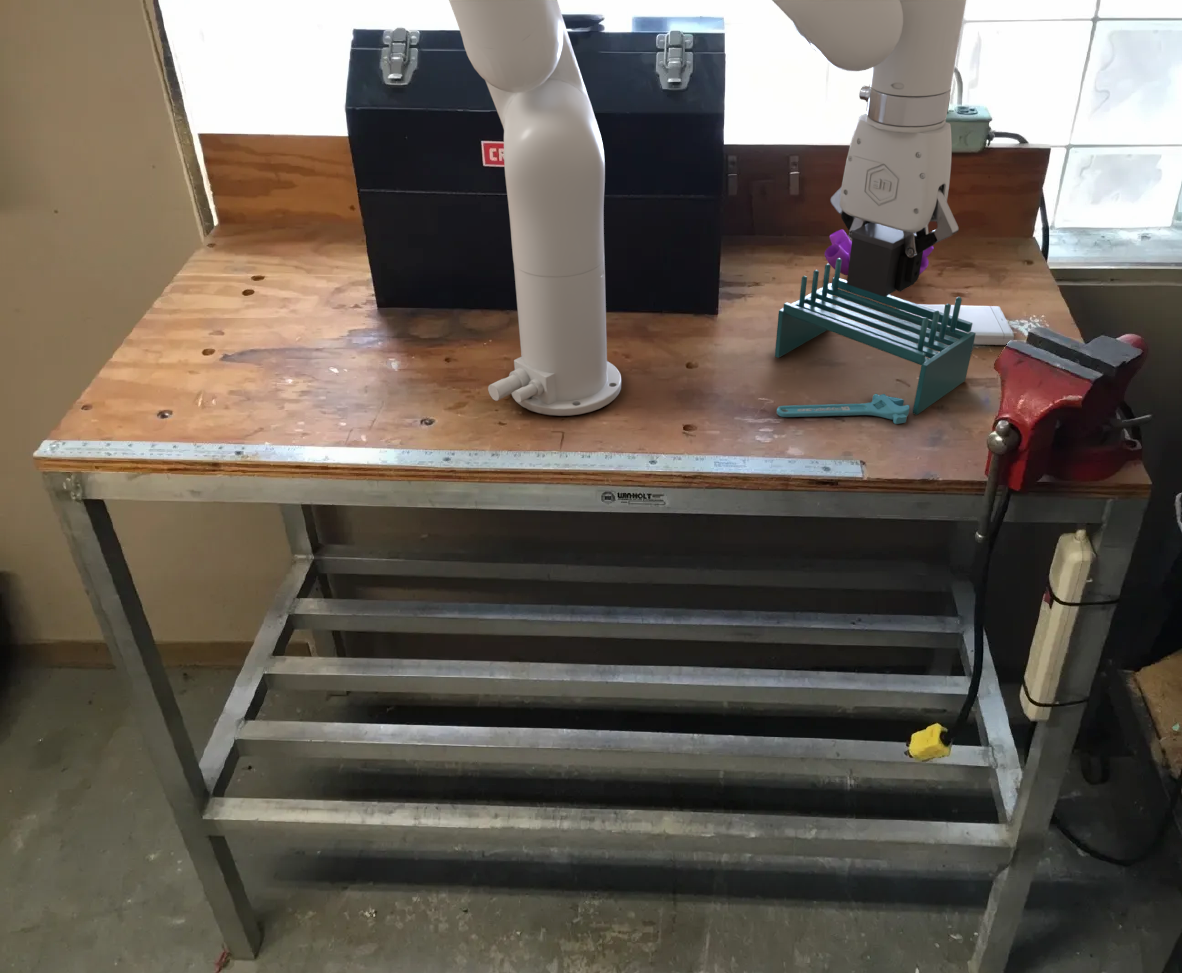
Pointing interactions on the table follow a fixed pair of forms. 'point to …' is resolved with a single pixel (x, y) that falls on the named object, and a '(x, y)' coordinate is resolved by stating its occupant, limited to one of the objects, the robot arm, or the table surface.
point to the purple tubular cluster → (843, 250)
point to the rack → (935, 373)
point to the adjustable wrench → (852, 409)
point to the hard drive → (980, 323)
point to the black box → (875, 258)
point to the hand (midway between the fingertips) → (882, 278)
